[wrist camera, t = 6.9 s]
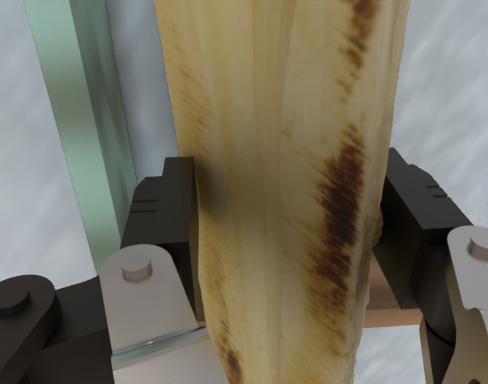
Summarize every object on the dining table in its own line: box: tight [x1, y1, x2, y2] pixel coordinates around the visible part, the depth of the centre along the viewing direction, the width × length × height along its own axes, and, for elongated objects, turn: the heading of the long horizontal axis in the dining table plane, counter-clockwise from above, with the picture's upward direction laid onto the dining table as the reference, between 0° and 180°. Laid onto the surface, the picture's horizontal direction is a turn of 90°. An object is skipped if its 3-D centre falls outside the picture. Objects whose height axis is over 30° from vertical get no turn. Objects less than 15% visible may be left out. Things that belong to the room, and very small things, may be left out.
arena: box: [23, 0, 423, 329], centre depth 21 cm, size 24×21×6 cm
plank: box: [154, 0, 411, 384], centre depth 11 cm, size 23×5×5 cm, turn 5°
